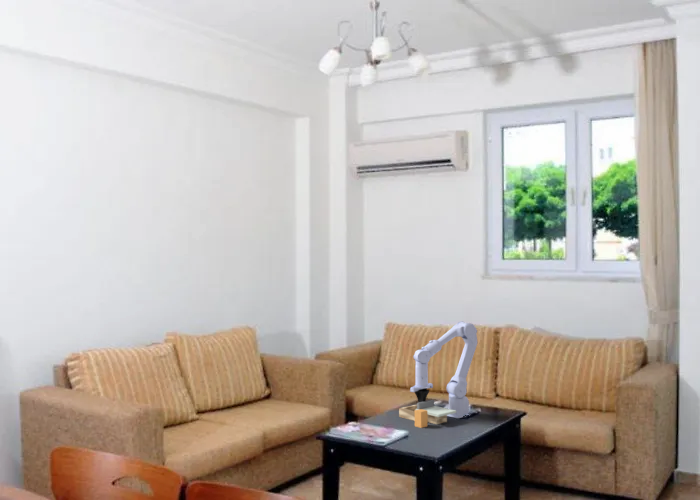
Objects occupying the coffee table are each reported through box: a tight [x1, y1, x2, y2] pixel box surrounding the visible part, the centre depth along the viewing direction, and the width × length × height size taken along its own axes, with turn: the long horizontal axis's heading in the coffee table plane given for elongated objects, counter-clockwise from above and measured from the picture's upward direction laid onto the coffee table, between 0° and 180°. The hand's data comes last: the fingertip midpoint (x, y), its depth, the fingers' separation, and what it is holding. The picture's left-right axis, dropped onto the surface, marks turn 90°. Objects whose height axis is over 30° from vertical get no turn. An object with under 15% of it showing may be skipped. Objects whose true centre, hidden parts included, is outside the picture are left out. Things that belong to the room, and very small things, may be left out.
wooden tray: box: [398, 404, 448, 425], centre depth 337 cm, size 12×21×4 cm, turn 41°
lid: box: [415, 399, 456, 417], centre depth 332 cm, size 12×14×4 cm
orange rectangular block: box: [414, 409, 428, 429], centre depth 324 cm, size 4×4×7 cm
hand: (421, 405), depth 339 cm, fingers closed
